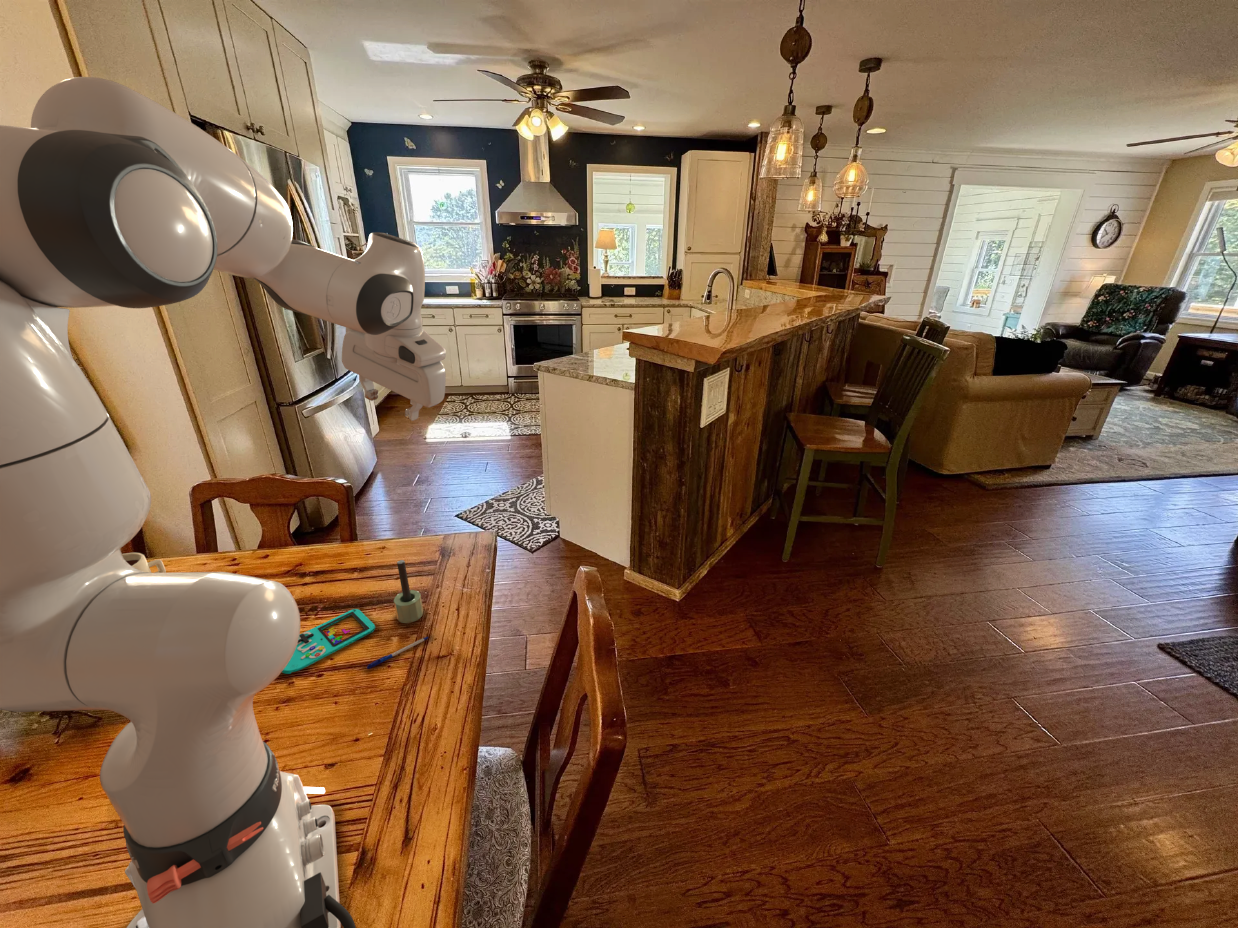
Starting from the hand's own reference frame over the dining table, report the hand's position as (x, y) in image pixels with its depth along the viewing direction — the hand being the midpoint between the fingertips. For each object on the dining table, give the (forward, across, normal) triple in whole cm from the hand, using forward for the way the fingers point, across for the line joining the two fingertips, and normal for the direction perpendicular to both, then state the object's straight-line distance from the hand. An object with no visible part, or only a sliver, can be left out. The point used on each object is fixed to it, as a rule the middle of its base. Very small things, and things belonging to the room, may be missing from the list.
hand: (391, 408), depth 90 cm
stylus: (+34, +17, -11) cm, 39 cm away
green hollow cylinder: (+34, +17, -11) cm, 40 cm away
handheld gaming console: (+36, +8, -22) cm, 43 cm away
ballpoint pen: (+33, +22, -19) cm, 44 cm away
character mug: (+46, -25, -32) cm, 61 cm away
